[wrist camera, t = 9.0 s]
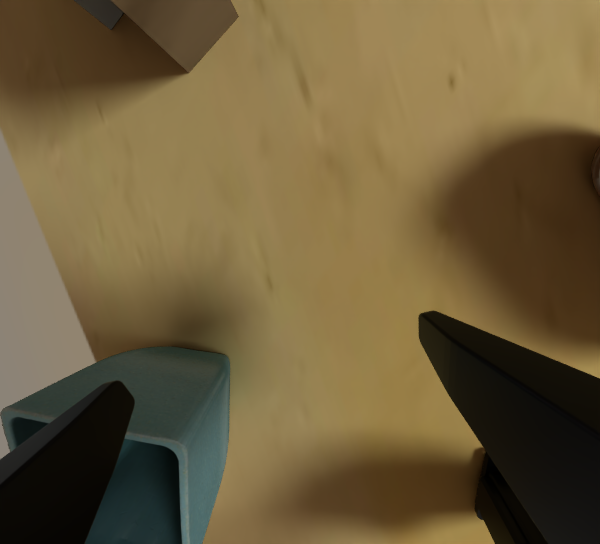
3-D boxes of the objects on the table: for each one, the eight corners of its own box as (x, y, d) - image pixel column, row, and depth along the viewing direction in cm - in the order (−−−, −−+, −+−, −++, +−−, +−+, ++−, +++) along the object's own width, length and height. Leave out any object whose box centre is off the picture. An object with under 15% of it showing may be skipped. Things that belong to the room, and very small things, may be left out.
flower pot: (143, 318, 19) (-9, 409, 11) (253, 334, 18) (184, 446, 10) (152, 410, 22) (33, 545, 13) (250, 428, 21) (192, 585, 12)
